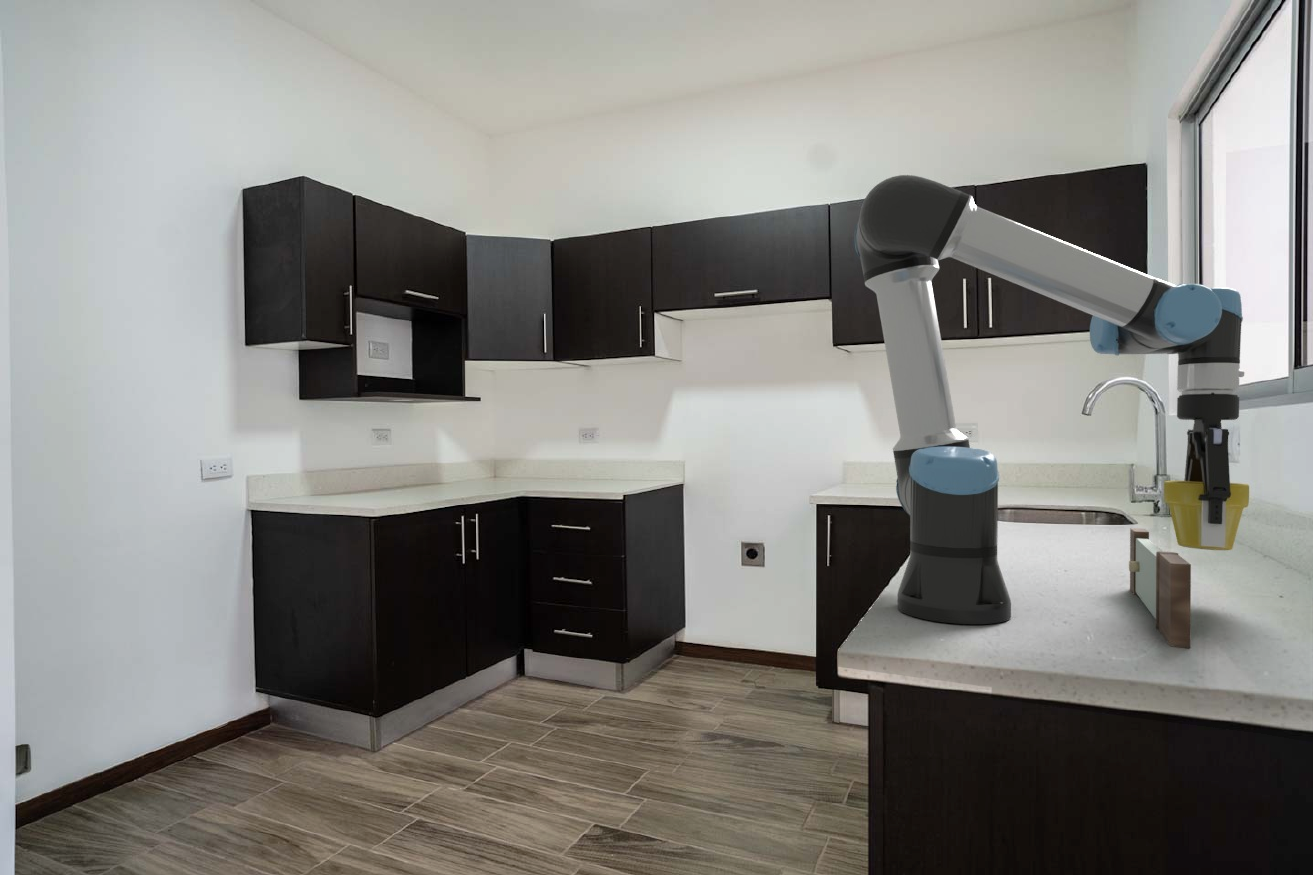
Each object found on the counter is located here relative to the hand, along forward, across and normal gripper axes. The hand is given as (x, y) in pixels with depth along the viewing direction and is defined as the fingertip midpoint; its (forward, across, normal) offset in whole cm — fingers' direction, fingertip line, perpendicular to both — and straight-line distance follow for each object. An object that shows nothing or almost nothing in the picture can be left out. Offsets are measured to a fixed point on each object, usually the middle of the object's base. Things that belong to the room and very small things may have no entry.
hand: (1204, 541), depth 114 cm
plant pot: (+1, 0, 0) cm, 1 cm away
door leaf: (+9, -8, +8) cm, 14 cm away
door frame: (+9, -11, +8) cm, 16 cm away
